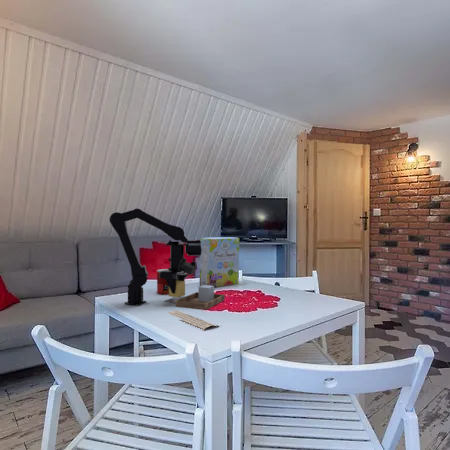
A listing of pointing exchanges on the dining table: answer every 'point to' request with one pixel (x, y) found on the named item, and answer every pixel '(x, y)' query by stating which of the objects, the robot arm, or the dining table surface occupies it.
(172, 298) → the slate pad
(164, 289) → the canned food
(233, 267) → the snack box
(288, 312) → the dining table surface
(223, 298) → the walnut tray
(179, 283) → the mustard block
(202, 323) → the tan flat ridged strip
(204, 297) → the grey-blue block
